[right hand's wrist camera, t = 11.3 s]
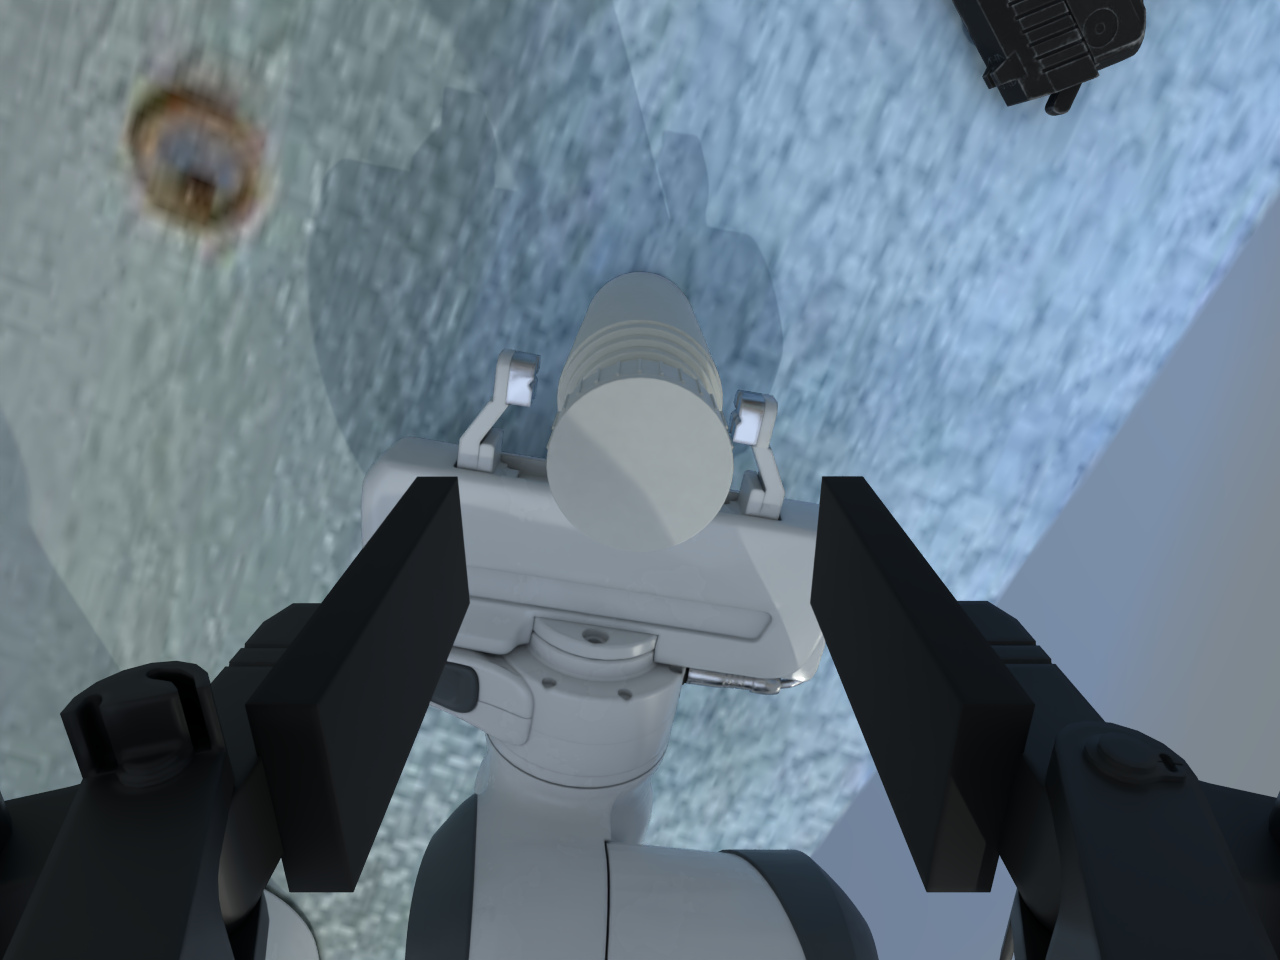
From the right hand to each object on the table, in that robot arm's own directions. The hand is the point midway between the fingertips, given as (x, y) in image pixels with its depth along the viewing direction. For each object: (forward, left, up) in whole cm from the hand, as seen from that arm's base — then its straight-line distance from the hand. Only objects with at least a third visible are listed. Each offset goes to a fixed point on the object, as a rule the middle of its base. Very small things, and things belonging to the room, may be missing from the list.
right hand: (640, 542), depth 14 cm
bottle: (0, 0, -23) cm, 23 cm away
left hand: (0, 0, -16) cm, 16 cm away
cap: (0, 0, -4) cm, 4 cm away
